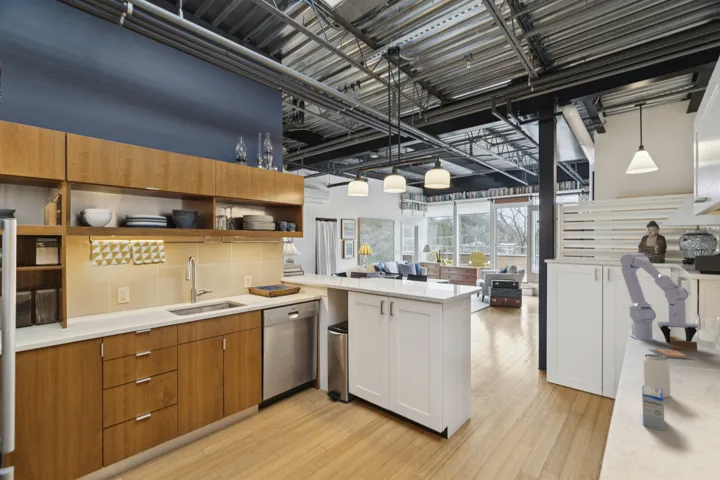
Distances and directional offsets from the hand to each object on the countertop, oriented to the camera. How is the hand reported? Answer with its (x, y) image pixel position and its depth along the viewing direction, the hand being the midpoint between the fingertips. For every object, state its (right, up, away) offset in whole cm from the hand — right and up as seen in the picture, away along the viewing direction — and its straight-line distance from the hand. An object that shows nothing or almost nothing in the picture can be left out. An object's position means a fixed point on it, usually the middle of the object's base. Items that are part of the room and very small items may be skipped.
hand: (678, 343), depth 159 cm
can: (-51, -3, -47) cm, 69 cm away
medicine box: (-67, -3, -65) cm, 93 cm away
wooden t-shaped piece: (+1, -3, +2) cm, 3 cm away
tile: (-12, -1, -7) cm, 14 cm away
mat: (-13, -2, -10) cm, 16 cm away
